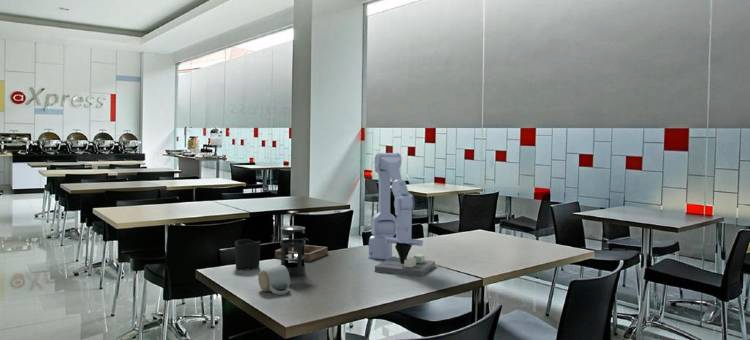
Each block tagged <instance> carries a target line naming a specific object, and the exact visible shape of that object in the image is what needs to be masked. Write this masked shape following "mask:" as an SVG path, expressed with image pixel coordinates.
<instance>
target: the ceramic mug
mask: <svg viewBox="0 0 750 340" xmlns="http://www.w3.org/2000/svg"><path fill="white" fill-rule="evenodd" d="M257 279H258V280H257V281H258V285H259V287H260V289H261V290H262V291H263V292H264V293H267V292H268V293H269V292H272V294H274V295H278V296H283V295H286V294H287V293H288V292H289V288H290V283H291V277H290V276H289V272H288V270H287V268H286V267H285V266H284V265H281V264H280V265H277V266H273V267H268V268H265V269H262V270H261V271H260V272H259V274H258V278H257Z"/></svg>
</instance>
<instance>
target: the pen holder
mask: <svg viewBox="0 0 750 340" xmlns="http://www.w3.org/2000/svg"><path fill="white" fill-rule="evenodd" d="M260 253H261V240H258V241H255V240H252V239H238V240H235V241H234V256H235V259H234V260H235V261H234V262H235V268H236V270H240V271H252V270H257V269H259V268H260V257H261V255H260Z"/></svg>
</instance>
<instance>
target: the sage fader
mask: <svg viewBox="0 0 750 340" xmlns="http://www.w3.org/2000/svg"><path fill="white" fill-rule="evenodd" d="M413 258H416V263H422V262H424V260H426V258H425V254H422V253H421V254H420V253H416V254H415V255H413Z"/></svg>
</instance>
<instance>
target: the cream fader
mask: <svg viewBox="0 0 750 340" xmlns="http://www.w3.org/2000/svg"><path fill="white" fill-rule="evenodd" d="M415 265H416V258H414V257H407V259H405V260H404V267H411V268H412V267H414V266H415Z"/></svg>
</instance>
